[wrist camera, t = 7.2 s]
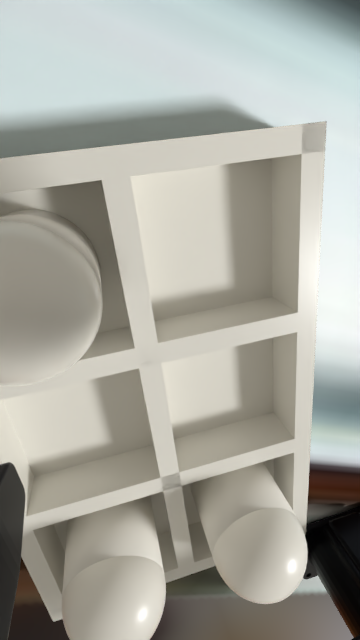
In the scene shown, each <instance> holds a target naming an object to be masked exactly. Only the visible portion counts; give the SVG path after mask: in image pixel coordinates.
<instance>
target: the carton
mask: <svg viewBox="0 0 360 640" xmlns="http://www.w3.org/2000/svg"><path fill="white" fill-rule="evenodd" d="M326 122H327V121H326ZM326 122H317V123H308V124H299V125H290V126H281V127H273V128H264V129H255V130H246V131H237V132H228V133H220V134H211V135H202V136H193V137H184V138H175V139H167V140H158V141H149V142H140V143H131V144H122V145H113V146H105V147H96V148H87V149H78V150H69V151H60V152H52V153H43V154H34V155H25V156H16V157H7V158H0V216H3V215H6V214H8V213H11V212H14V211H19V210H27V209H35V210H43V211H49V212H52V213H55V214H58V215H60V216H62V217H64V218H66V219H68V220H69V221H71V222H72V223H74V224H75V225H76V226H78V227H79V228H80V229H81V230H82V231H83V232H84V233H85V235H86V236H87V237H88V238H89V240H90V241H91V243H92V245H93V246H94V249H95V251H96V253H97V257H98V260H99V266H100V276H101V288H102V305H103V309H102V316H101V322H100V326H99V330H98V332H97V334H96V336H95V339H94V341H93V342H92V344H91V346H90V347H89V349H88V350H87V351H86V353H85V354H84V355H83V356H82V357H81V358H80V359H79V360H78V361H77V362H76V363H75V364H74V365H73V366H71V367H70V368H69V369H67V370H66V371H64V372H63V373H61V374H59V375H57V376H55V377H53V378H50V379H48V380H45V381H43V382H39V383H35V384H30V385H24V386H2V385H0V464H3V463H7V462H10V463H12V464H13V465H14V466H15V468H16V470H17V473H18V475H19V477H20V479H21V482H22V484H23V486H24V489H25V512H24V525H23V538H22V551H21V557H22V559H23V561H24V563H25V565H26V567H27V569H28V571H29V573H30V575H31V577H32V579H33V581H34V583H35V585H36V587H37V589H38V591H39V593H40V596H41V598H42V600H43V602H44V604H45V606H46V608H47V609H48V612H49V614H50V615H51V618H52V620H53V621H57V620H60V619H63V622H64V626H65V629H66V632H67V634H68V636H69V638H70V640H149V639H150V638H151V637H152V635H153V634H154V632H155V630H156V628H157V626H158V624H159V621H160V619H161V616H162V613H163V608H164V605H165V596H166V583H167V582H170V581H173V580H176V579H179V578H182V577H185V576H187V575H190V574H193V573H196V572H199V571H202V570H205V569H208V568H211V567H213V566H216V568H217V570H218V572H219V574H220V576H221V577H222V579H223V580H224V582H225V583H226V584H227V585H228V586H229V587H230V588H231V590H233V591H234V592H235V593H236V594H238V595H239V596H241V597H242V598H244V599H246V600H248V601H251V602H254V603H259V604H271V603H276V602H279V601H282V600H283V599H285V598H287V597H288V596H290V595H291V594H292V593H293V592H294V591H295V590H296V589H297V587H298V586H299V584H300V582H301V581H302V579H303V576H304V573H305V570H306V566H307V557H308V551H307V542H306V538H305V535H306V523H307V503H308V483H309V463H310V443H311V423H312V403H313V383H314V363H315V343H316V322H317V302H318V282H319V262H320V242H321V222H322V202H323V182H324V162H325V142H326Z"/></svg>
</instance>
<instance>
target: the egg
mask: <svg viewBox="0 0 360 640" xmlns="http://www.w3.org/2000/svg"><path fill="white" fill-rule="evenodd" d="M102 309H103V305H102V288H101V276H100V266H99V260H98V257H97V253H96V251H95V249H94V246H93V245H92V243H91V241H90V240H89V238H88V237H87V236H86V235H85V233H84V232H83V231H82V230H81V229H80V228H79V227H78V226H76V225H75V224H74V223H72V222H71V221H69V220H68V219H66V218H64V217H62V216H60V215H58V214H55V213H52V212H49V211H43V210H35V209H27V210H19V211H14V212H11V213H8V214H6V215H3V216H0V385H2V386H24V385H30V384H35V383H39V382H43V381H45V380H48V379H50V378H53V377H55V376H57V375H59V374H61V373H63V372H64V371H66V370H67V369H69V368H70V367H71V366H73V365H74V364H75V363H76V362H77V361H78V360H79V359H80V358H81V357H82V356H83V355H84V354H85V353H86V351H87V350H88V349H89V347H90V346H91V344H92V342H93V341H94V339H95V336H96V334H97V332H98V330H99V326H100V322H101V316H102Z"/></svg>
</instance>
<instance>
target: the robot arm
mask: <svg viewBox="0 0 360 640" xmlns="http://www.w3.org/2000/svg"><path fill="white" fill-rule="evenodd" d="M24 512H25V489H24V486H23V484H22V482H21V479H20V477H19V475H18V473H17V470H16V468H15V466H14V465H13V464H12V463H10V462H7V463H3V464H0V640H7V639H8V634H9V628H10V623H11V617H12V611H13V606H14V601H15V595H16V590H17V584H18V578H19V572H20V563H21V551H22V538H23V525H24ZM305 538H306V542H307V551H308V557H307V566H306V570H305V573H304V576H303V578H304V579H309V578H312V577H315V576H317V575H318V576H319V578H320V580H321V582H322V583H323V585H324V587H325V589H326V590H327V592H328V594H329V595H330V597H331V599H332V601H333V602H334V604H335V606H336V608H337V609H338V611H339V613H340V615H341V616H342V618H343V620H344V622H345V623H346V625H347V627H348V628H349V630H350V632H351V634H352V635H353V637H354V638H353V639H352V640H360V507H358V508H355V509H352V510H349V511H346V512H343V513H340V514H338V515H335V516H332V517H329V518H326V519H323V520H320V521H317V522H314V523H311V524H308V525H306V535H305Z"/></svg>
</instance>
